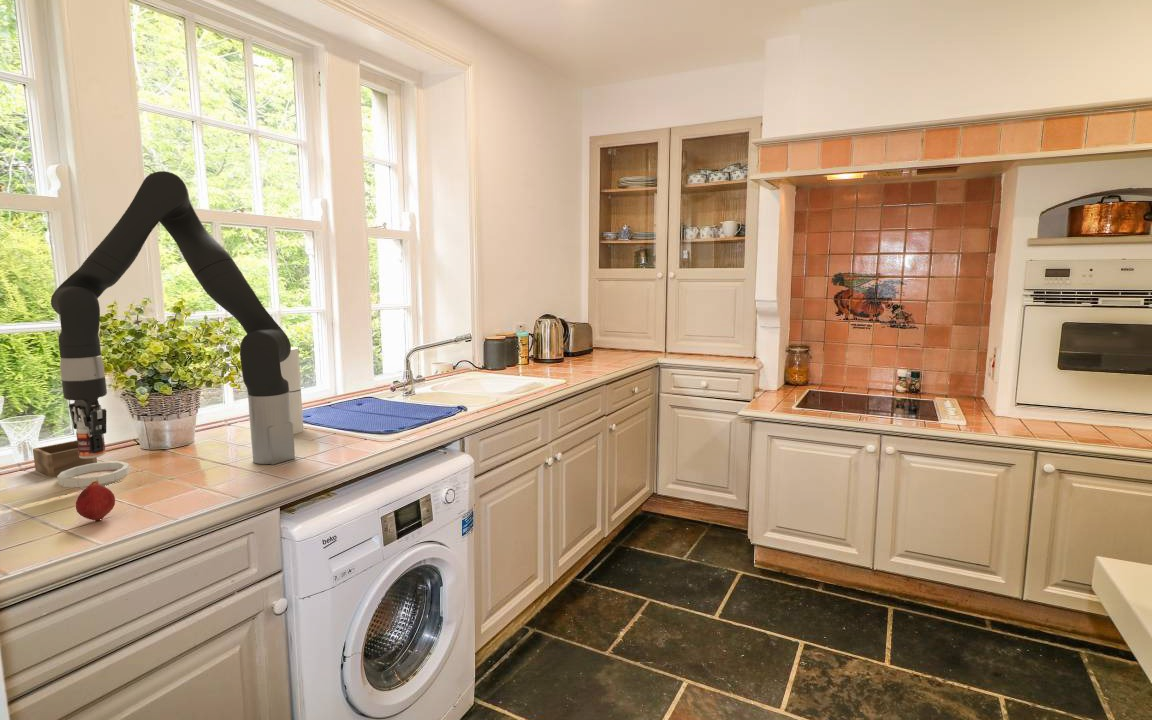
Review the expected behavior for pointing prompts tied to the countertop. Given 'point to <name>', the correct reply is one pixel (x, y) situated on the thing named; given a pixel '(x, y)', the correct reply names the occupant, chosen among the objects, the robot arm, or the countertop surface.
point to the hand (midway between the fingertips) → (92, 449)
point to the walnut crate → (58, 458)
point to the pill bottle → (86, 443)
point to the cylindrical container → (293, 388)
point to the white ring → (67, 481)
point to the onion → (95, 501)
